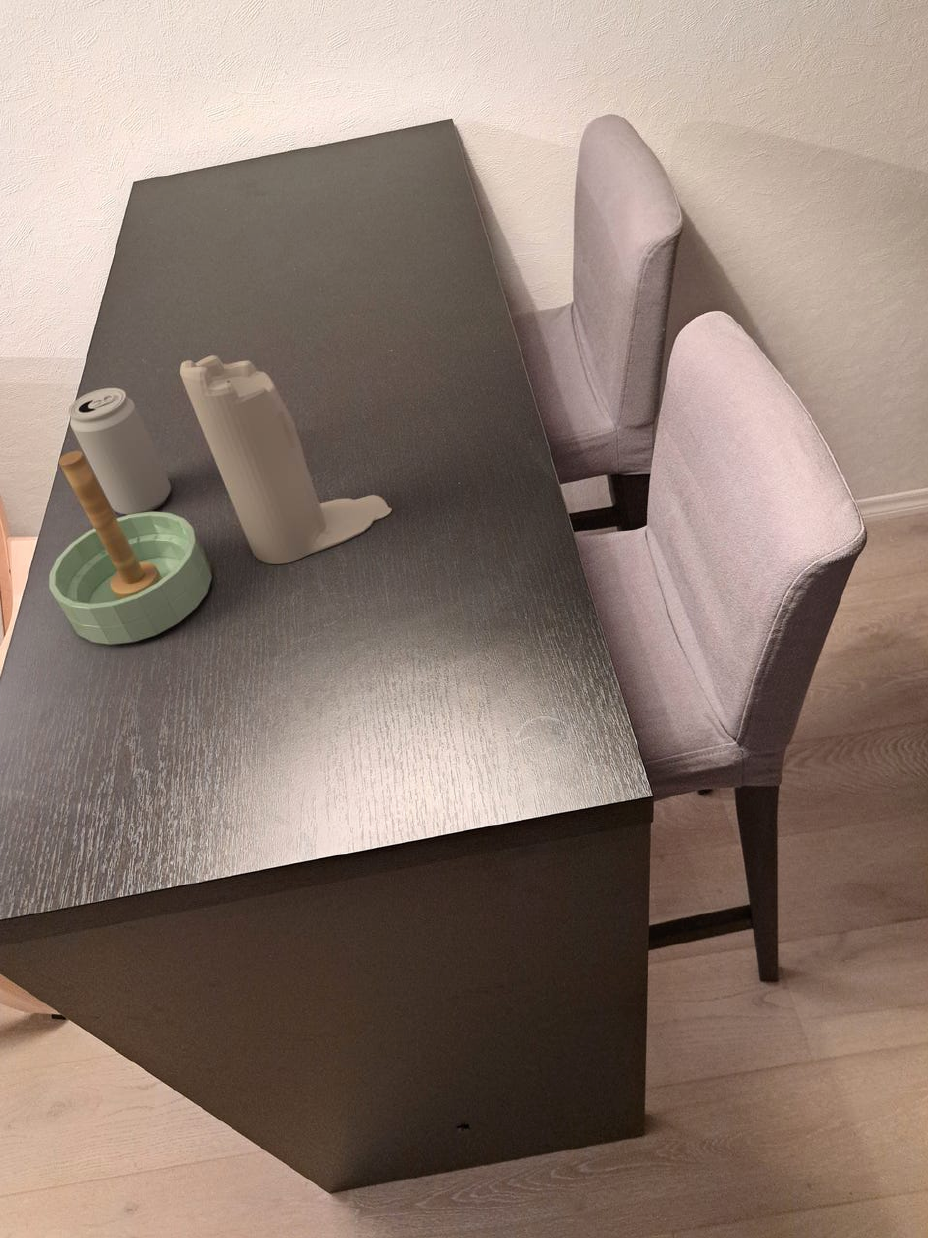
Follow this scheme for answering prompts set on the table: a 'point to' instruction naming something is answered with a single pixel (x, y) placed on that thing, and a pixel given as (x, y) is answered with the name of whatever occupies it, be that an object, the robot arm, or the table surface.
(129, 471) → the beverage can
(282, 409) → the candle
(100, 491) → the pestle
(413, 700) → the table surface
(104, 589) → the bowl
